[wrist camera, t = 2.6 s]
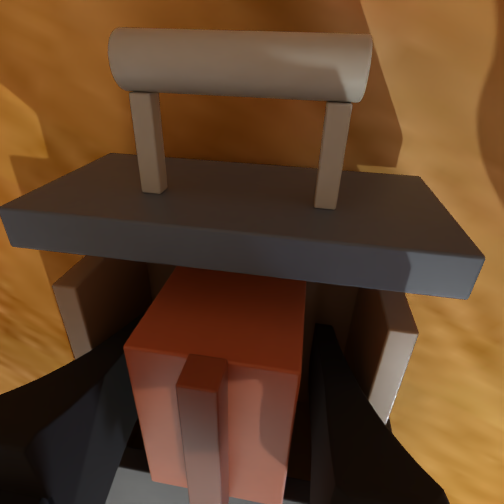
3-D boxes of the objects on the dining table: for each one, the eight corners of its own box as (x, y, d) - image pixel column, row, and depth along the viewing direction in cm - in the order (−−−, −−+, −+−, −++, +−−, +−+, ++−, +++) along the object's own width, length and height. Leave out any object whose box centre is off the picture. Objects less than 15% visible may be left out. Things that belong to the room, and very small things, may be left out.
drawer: (89, 31, 12) (-75, 16, 7) (457, 42, 10) (584, 33, 5) (147, 369, 20) (92, 471, 15) (357, 402, 19) (371, 528, 14)
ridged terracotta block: (191, 235, 14) (95, 372, 8) (308, 247, 13) (300, 406, 7) (199, 356, 17) (136, 516, 11) (293, 370, 17) (278, 546, 11)
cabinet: (138, 320, 20) (49, 452, 13) (377, 354, 18) (410, 524, 12) (162, 457, 27) (111, 589, 20) (337, 491, 25) (344, 646, 18)
